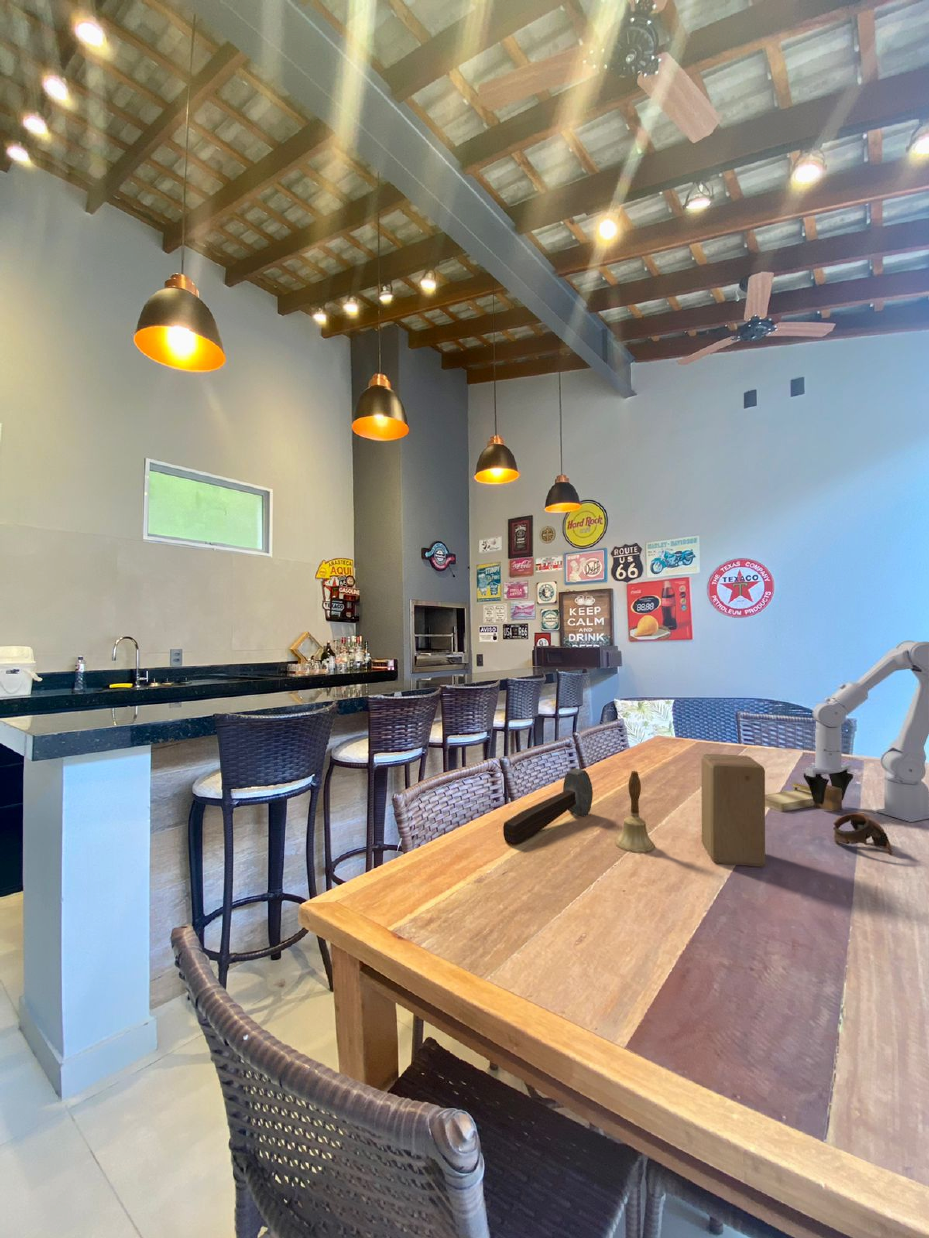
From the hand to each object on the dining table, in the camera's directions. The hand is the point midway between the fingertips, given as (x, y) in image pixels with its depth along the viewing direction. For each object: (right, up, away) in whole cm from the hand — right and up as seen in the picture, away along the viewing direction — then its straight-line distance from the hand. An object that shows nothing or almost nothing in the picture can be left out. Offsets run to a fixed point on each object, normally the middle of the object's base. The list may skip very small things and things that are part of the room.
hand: (828, 801), depth 140 cm
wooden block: (-40, -2, -29) cm, 50 cm away
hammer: (-75, -2, -13) cm, 76 cm away
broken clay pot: (-9, -2, -24) cm, 26 cm away
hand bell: (-58, -2, -24) cm, 63 cm away
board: (-7, -2, +4) cm, 8 cm away
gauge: (-1, -2, +3) cm, 4 cm away
